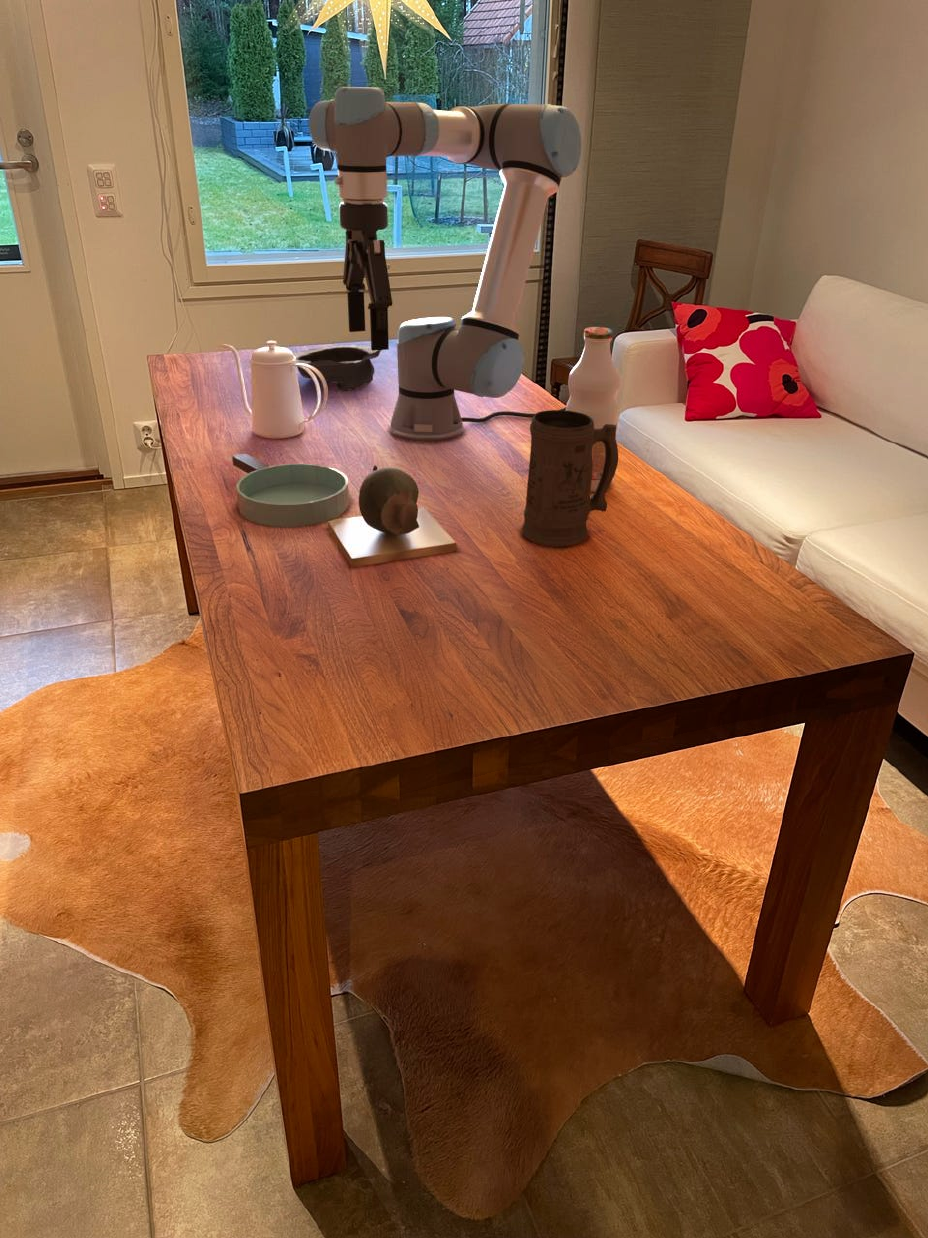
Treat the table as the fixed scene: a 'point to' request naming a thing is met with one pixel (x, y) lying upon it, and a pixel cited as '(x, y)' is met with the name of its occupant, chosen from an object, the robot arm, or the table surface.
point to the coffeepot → (276, 391)
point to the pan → (292, 495)
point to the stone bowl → (340, 364)
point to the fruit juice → (595, 390)
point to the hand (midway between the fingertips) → (368, 340)
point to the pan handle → (247, 463)
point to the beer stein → (565, 476)
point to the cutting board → (389, 540)
